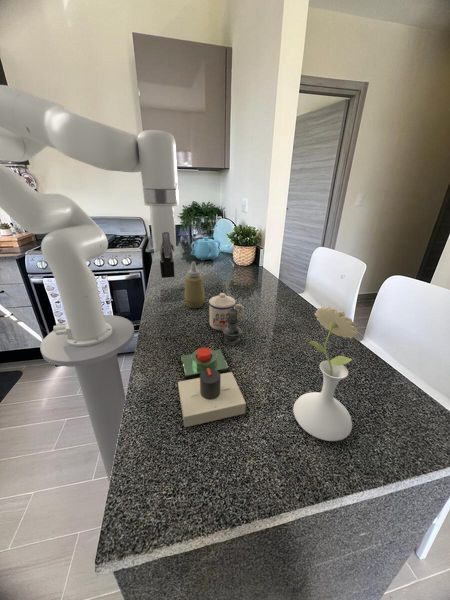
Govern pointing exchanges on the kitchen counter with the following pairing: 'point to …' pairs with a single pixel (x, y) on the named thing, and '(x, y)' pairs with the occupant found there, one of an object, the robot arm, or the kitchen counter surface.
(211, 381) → the knob
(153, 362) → the kitchen counter surface
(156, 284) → the kitchen counter surface
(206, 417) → the panel
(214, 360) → the button box
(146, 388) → the kitchen counter surface
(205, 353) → the button
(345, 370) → the flower in vase
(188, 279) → the squeeze bottle
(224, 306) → the teacup with lid
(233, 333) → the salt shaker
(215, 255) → the decorative pot
